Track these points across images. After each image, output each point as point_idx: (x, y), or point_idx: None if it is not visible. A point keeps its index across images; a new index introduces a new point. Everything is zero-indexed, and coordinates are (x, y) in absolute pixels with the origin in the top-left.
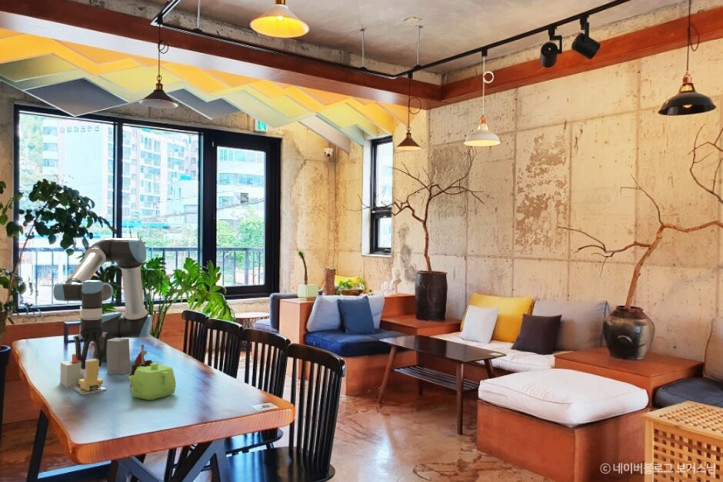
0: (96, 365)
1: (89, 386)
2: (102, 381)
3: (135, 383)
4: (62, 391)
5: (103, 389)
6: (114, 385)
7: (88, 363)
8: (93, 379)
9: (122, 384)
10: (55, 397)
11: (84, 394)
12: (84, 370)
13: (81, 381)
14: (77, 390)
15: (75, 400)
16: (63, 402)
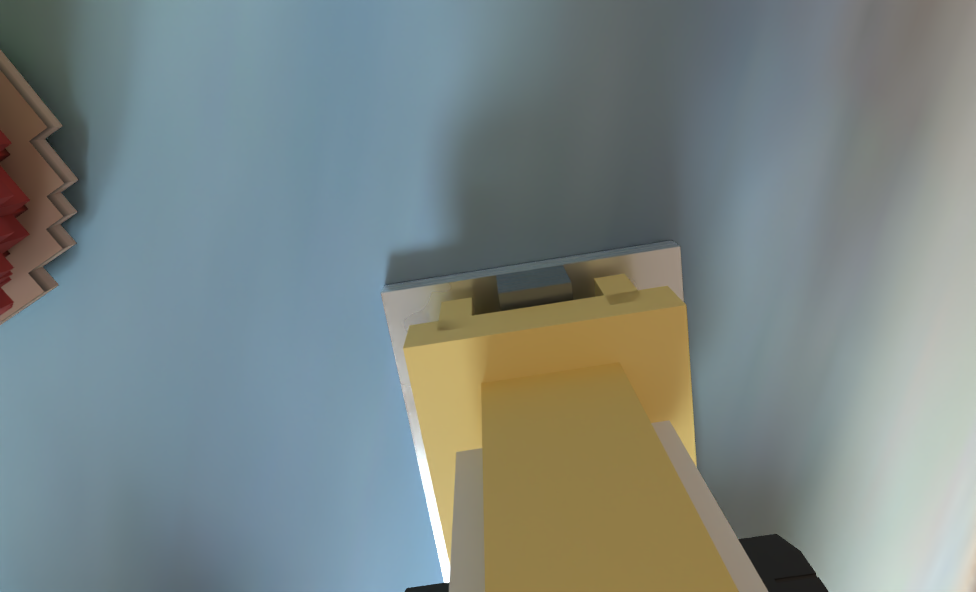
0: (514, 540)
1: None
2: (415, 339)
3: None
4: (801, 508)
5: (413, 286)
6: (252, 465)
7: (729, 584)
8: (545, 383)
9: (158, 461)
10: (949, 307)
11: (649, 244)
12: None
13: (692, 439)
14: None
15: (822, 21)
16: (971, 10)
